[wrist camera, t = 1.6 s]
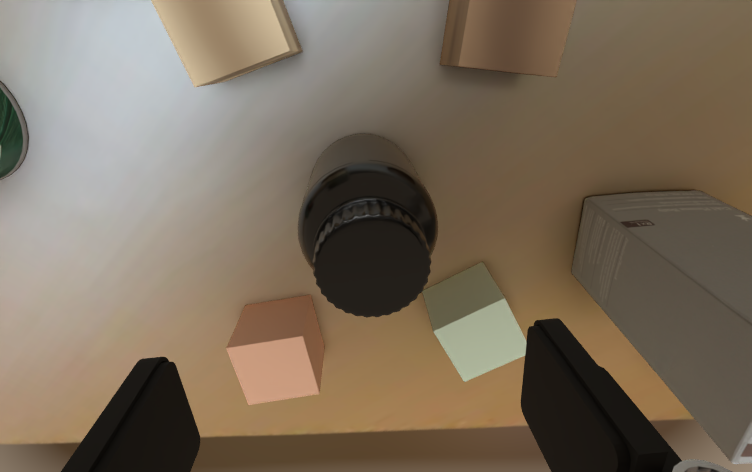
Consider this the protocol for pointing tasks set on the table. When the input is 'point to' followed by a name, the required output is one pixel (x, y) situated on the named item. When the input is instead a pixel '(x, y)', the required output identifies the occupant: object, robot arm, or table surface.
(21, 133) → the canned tomato
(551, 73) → the walnut cube
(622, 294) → the skincare box
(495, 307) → the sage painted cube
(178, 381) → the robot arm
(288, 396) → the terracotta painted cube
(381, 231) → the supplement bottle
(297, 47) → the maple cube
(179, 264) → the table surface
